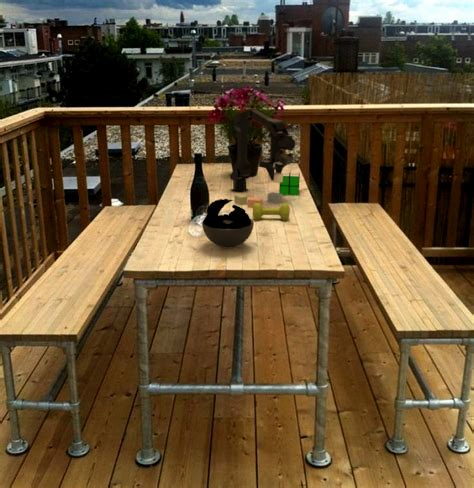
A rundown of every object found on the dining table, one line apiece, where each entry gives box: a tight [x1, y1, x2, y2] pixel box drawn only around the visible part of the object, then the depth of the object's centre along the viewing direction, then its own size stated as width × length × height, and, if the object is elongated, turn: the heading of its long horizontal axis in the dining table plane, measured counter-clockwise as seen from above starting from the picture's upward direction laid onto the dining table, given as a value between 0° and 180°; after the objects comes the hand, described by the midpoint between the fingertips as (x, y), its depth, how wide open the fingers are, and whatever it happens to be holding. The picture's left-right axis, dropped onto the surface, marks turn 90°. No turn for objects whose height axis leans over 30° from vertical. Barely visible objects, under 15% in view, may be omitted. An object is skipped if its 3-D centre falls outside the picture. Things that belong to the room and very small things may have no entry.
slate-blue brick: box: [267, 191, 283, 204], centre depth 310 cm, size 6×4×4 cm, turn 53°
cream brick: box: [267, 171, 283, 184], centre depth 306 cm, size 6×4×4 cm, turn 50°
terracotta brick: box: [247, 197, 263, 209], centre depth 300 cm, size 6×4×4 cm, turn 71°
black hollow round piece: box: [201, 198, 255, 249], centre depth 245 cm, size 20×20×19 cm
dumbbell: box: [252, 202, 291, 221], centre depth 282 cm, size 16×8×7 cm, turn 88°
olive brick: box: [233, 193, 248, 206], centre depth 306 cm, size 6×4×4 cm, turn 26°
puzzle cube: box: [278, 171, 301, 196], centre depth 324 cm, size 10×10×10 cm
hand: (275, 179), depth 307 cm, fingers closed on cream brick, 4 cm apart
